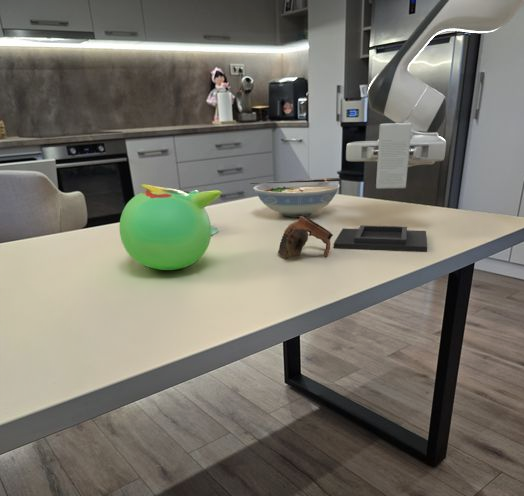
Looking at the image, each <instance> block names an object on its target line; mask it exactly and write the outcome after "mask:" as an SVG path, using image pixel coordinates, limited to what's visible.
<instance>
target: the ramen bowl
mask: <svg viewBox="0 0 524 496" xmlns="http://www.w3.org/2000/svg"><path fill="white" fill-rule="evenodd" d="M341 180H342V179H341V178H340V177H329V178H327V177H326V178H311V179H310V178H309V179H295V180H294V179H293V180H280V181H264V182H263V181H262V182H249V184H250V185H255V186H254V187H253V190H254V192H255V194H256V196H257V197H258V199H259V200H260V201H261V202H262V203H263V204H264V206H266V207H267V208H269V209H270V210H272V211H274V212H276V213H279V214H281V215H282V216H284V217H290V218H298V217H299V218H300V216H302V217H307V216H310V215H311V214H312V213H314V212H317V211H319V210H321V209H324V208H325V207H327V206H328V205H329V204H330V203H331V201H332V200H333V199H334V198H335V196H336V194H337V193H338V190H339V188H340V186H341V185H340V184H339V183H336V182H341Z"/></svg>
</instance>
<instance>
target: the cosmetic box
mask: <svg viewBox="0 0 524 496" xmlns="http://www.w3.org/2000/svg"><path fill="white" fill-rule="evenodd" d="M411 125H412V124H411V123H395V122H393V123H380V124H379V128H378V129H379V130H378V139H379V146H378V161H376V162H377V163H376V164H377V166H376V179H375V180H376V181H375V183H376V184H375V188H376V189H406V188H407V182H408V181H407V179H408V168H409V167H408V158H409V147H410V135H411Z"/></svg>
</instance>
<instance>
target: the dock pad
mask: <svg viewBox="0 0 524 496" xmlns="http://www.w3.org/2000/svg"><path fill="white" fill-rule="evenodd" d="M427 238H428V237H427V230H415V229H413V230H412V229H408V226H401V225H363V224H362V225H359V227H358V228H346V227H345V228H342V229H341V231H340V232H339V234H338V235H337V237H336V239H335V240H334V242H333V249H343V250H345V249H348V250H368V249H369V250H371V251H395V252H397V251H398V252H423V253H427V252H428V239H427Z"/></svg>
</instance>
